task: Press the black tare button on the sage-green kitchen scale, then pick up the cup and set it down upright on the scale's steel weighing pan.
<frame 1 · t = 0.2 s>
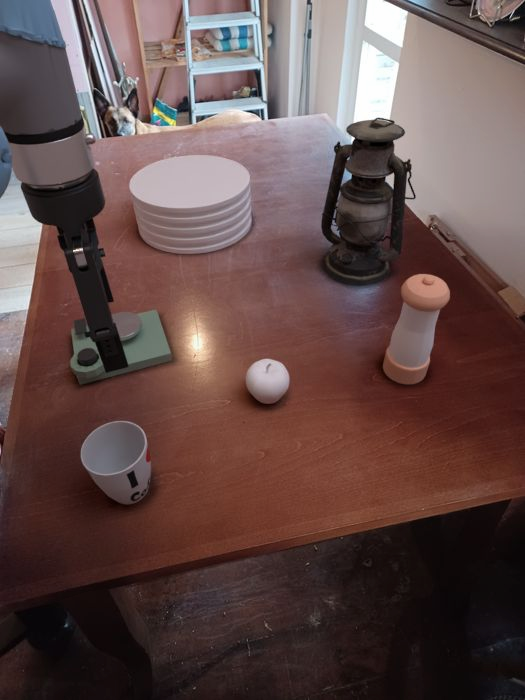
hand: (110, 332, 62), 19 cm above the table, tool pointing down, fingers open, 13 cm apart
apple: (268, 395, 79), on the table
lantern: (360, 261, 106), on the table
plate stack: (195, 224, 119), on the table
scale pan: (108, 326, 86), on the scale, point 4 cm above the table
scale: (121, 348, 87), on the table
tare button: (87, 357, 80), point 4 cm above the table, slide at 0.1 cm
cup: (130, 488, 67), on the table
salt shaker: (403, 369, 82), on the table
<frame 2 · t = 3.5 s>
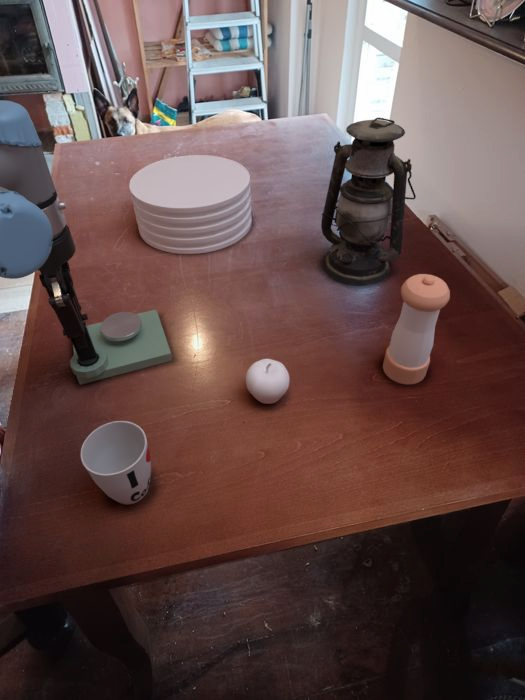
hand: (87, 355, 80), 4 cm above the table, tool pointing down, fingers closed
tare button: (88, 360, 81), point 3 cm above the table, slide at -0.7 cm, touching gripper
everything else where it was.
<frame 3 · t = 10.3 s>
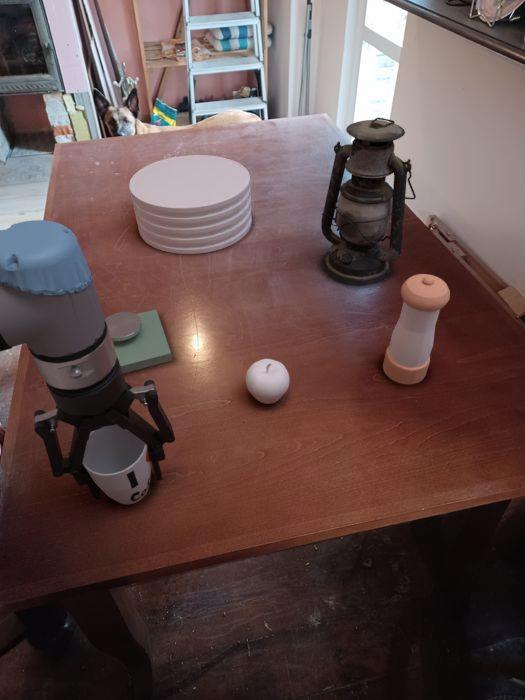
hand: (128, 481, 66), 2 cm above the table, tool pointing down, fingers closed on cup, 8 cm apart
tare button: (87, 357, 80), point 4 cm above the table, slide at 0.1 cm
cup: (130, 488, 67), on the table, touching gripper
everything else where it was.
when the fingers open (6 cm above the table, at t = 17.7 s): cup stays where it is, resting on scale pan.
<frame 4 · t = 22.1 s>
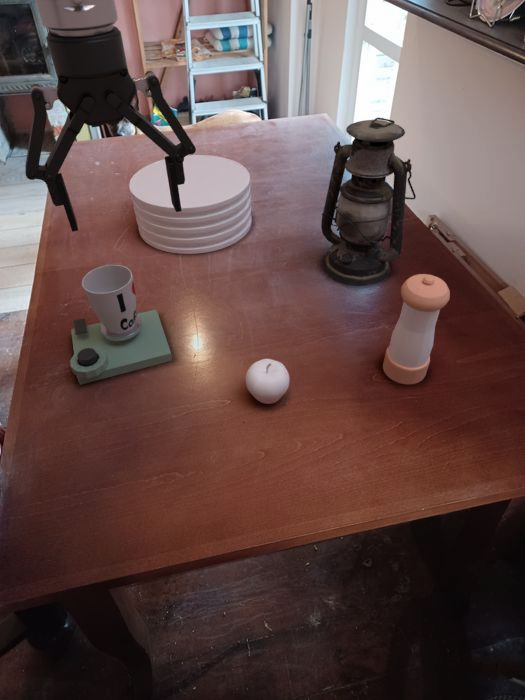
hand: (126, 216, 64), 29 cm above the table, tool pointing down, fingers open, 13 cm apart
cup: (121, 325, 85), point 4 cm above the table, touching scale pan
everything else where it was.
at the end: tare button pushed in 0.8 cm at the most during the clip, back to where it started at the end; cup inside the target area on the scale (0.0 cm from its centre), point 4.1 cm above the scale's base; cup tilted 0° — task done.
